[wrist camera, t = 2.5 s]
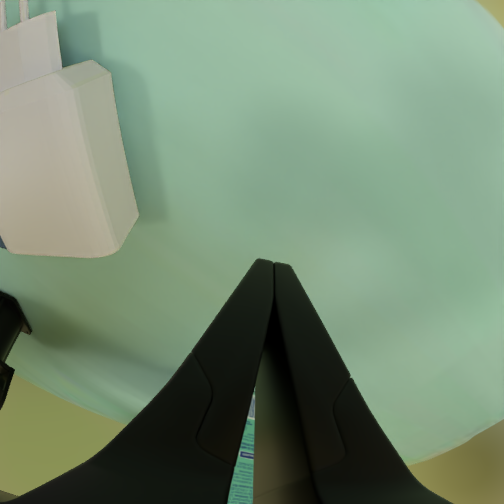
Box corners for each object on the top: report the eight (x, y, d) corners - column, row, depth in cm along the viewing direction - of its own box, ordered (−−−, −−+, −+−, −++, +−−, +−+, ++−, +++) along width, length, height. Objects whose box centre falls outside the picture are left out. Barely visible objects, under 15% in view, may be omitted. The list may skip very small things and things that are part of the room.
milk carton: (255, 422, 40) (238, 588, 21) (194, 405, 38) (164, 583, 19) (294, 403, 35) (282, 602, 16) (225, 382, 33) (194, 604, 14)
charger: (108, -36, 10) (143, 209, 19) (-10, 19, 10) (37, 212, 20) (53, -43, 6) (114, 260, 16) (-65, 35, 7) (2, 253, 16)
